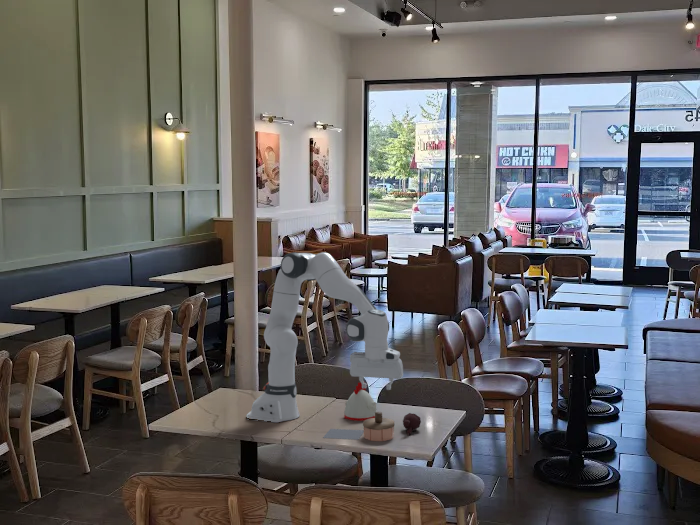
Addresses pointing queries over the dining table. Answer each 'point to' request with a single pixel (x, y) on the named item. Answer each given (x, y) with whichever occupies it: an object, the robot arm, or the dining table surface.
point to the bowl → (379, 434)
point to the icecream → (411, 422)
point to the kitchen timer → (360, 405)
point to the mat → (344, 434)
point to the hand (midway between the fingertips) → (376, 388)
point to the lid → (378, 422)
